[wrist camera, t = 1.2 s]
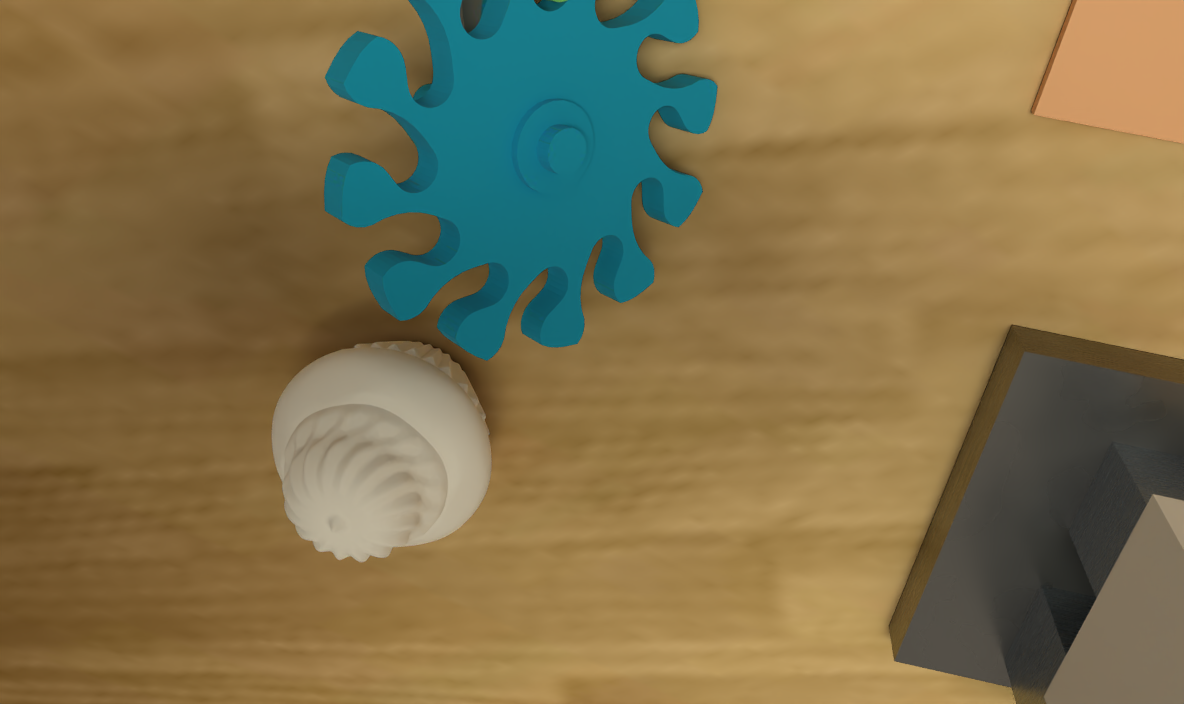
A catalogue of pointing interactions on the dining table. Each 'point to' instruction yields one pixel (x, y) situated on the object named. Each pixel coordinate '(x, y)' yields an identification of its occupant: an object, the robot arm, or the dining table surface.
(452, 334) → the gear
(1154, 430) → the shaft stand
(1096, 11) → the pad
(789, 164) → the dining table surface
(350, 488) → the white rounded lump
